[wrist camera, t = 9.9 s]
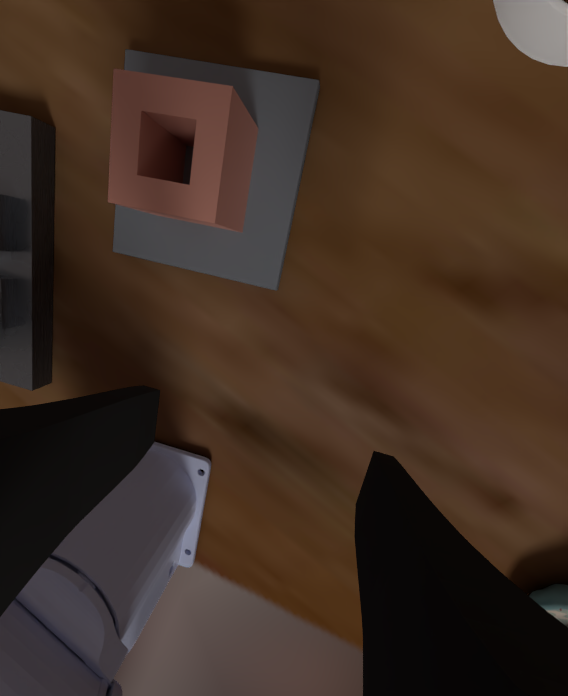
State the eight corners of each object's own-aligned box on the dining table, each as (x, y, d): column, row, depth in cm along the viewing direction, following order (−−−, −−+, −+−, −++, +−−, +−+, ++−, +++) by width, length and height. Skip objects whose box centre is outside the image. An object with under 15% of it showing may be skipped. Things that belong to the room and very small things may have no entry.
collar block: (242, 232, 18) (214, 223, 14) (157, 215, 18) (107, 202, 14) (258, 128, 16) (232, 86, 12) (165, 113, 17) (113, 68, 13)
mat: (278, 289, 19) (275, 290, 18) (119, 252, 20) (112, 251, 19) (319, 87, 16) (319, 80, 15) (132, 56, 17) (125, 48, 16)
